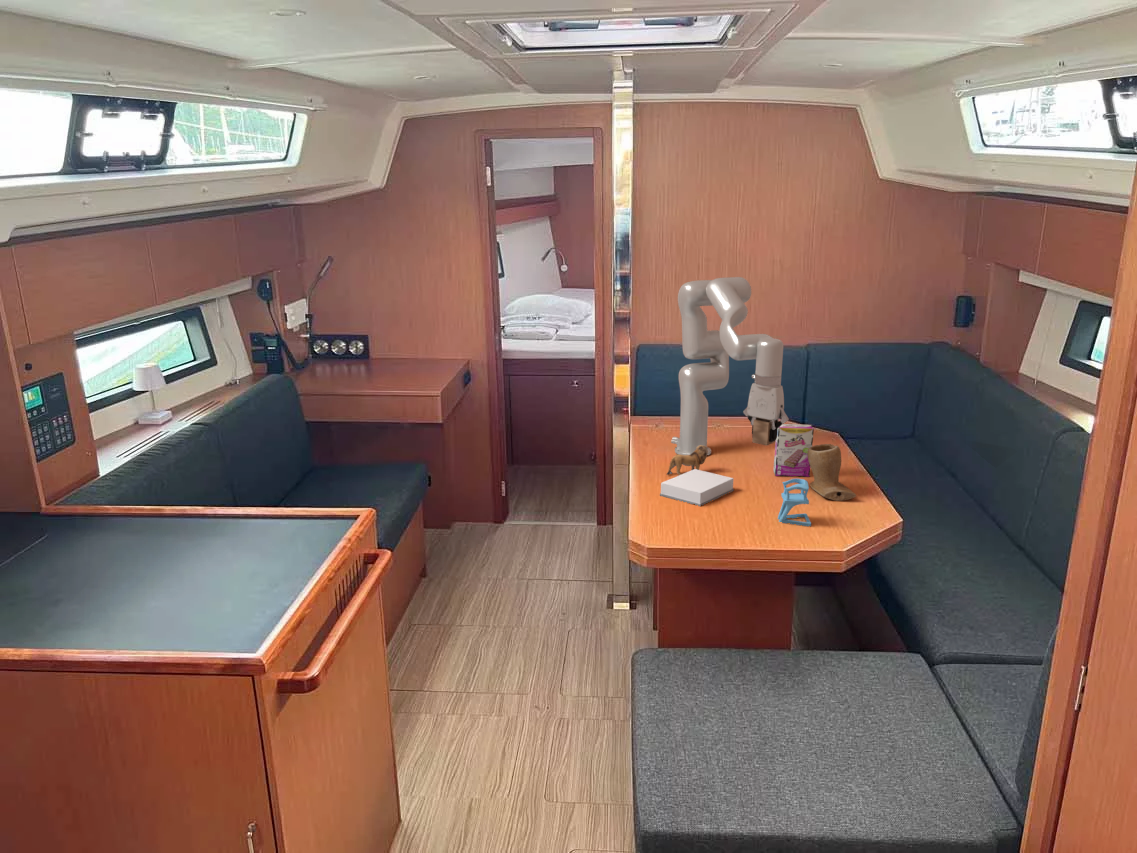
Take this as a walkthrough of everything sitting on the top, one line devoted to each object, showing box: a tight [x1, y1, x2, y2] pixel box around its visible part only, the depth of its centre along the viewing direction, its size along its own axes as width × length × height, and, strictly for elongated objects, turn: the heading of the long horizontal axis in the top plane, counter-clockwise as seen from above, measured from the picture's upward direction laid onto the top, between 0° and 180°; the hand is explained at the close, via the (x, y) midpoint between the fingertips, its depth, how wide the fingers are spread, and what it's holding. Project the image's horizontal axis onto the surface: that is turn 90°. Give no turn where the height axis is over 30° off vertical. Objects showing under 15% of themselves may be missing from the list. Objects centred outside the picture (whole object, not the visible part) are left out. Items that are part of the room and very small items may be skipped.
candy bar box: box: [773, 423, 815, 478], centre depth 274 cm, size 11×5×16 cm, turn 84°
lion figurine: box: [666, 445, 708, 476], centre depth 277 cm, size 15×5×9 cm, turn 112°
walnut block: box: [751, 418, 776, 447], centre depth 258 cm, size 5×5×7 cm
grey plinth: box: [659, 468, 735, 507], centre depth 259 cm, size 14×18×4 cm
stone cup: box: [807, 443, 857, 502], centre depth 256 cm, size 15×12×15 cm
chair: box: [777, 478, 812, 527], centre depth 236 cm, size 8×8×12 cm
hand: (764, 438), depth 259 cm, fingers closed on walnut block, 5 cm apart
